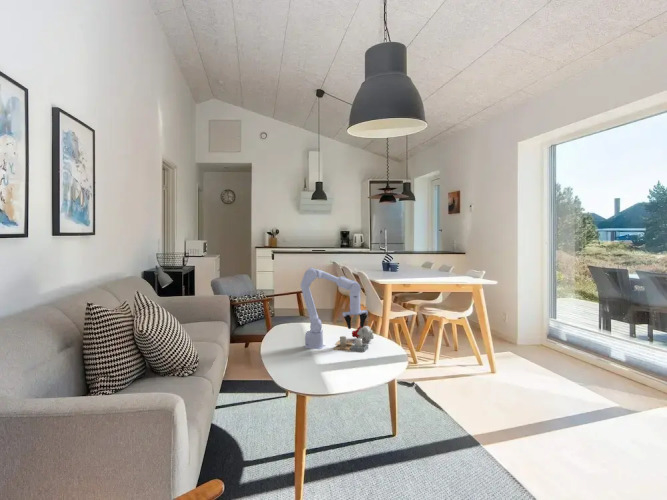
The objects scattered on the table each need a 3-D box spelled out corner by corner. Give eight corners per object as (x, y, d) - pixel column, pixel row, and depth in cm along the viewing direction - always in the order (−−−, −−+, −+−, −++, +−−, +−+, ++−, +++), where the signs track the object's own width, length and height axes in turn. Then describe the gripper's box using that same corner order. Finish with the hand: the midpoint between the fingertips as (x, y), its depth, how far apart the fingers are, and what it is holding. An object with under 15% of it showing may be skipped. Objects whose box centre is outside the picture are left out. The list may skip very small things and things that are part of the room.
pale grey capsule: (355, 349, 230) (354, 339, 230) (357, 348, 233) (356, 338, 233) (361, 350, 229) (360, 339, 229) (363, 348, 232) (362, 338, 232)
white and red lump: (373, 343, 242) (348, 344, 248) (379, 338, 253) (355, 339, 258) (371, 327, 242) (346, 329, 248) (377, 323, 253) (353, 324, 258)
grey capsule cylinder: (339, 347, 235) (338, 337, 235) (341, 345, 239) (341, 336, 238) (344, 347, 234) (344, 338, 234) (347, 346, 237) (346, 336, 237)
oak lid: (334, 345, 241) (334, 342, 241) (338, 341, 250) (338, 338, 250) (350, 346, 239) (350, 343, 239) (353, 342, 248) (353, 339, 248)
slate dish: (350, 351, 229) (350, 346, 229) (355, 347, 236) (355, 343, 236) (364, 352, 226) (363, 348, 226) (368, 349, 233) (368, 344, 233)
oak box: (334, 350, 232) (334, 347, 232) (340, 346, 240) (340, 343, 240) (349, 351, 228) (349, 348, 228) (355, 347, 236) (355, 344, 236)
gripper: (346, 305, 231) (346, 330, 232) (370, 303, 236) (370, 328, 237) (341, 303, 237) (341, 328, 238) (364, 301, 243) (364, 325, 244)
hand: (355, 328), depth 238 cm, fingers open, 7 cm apart
